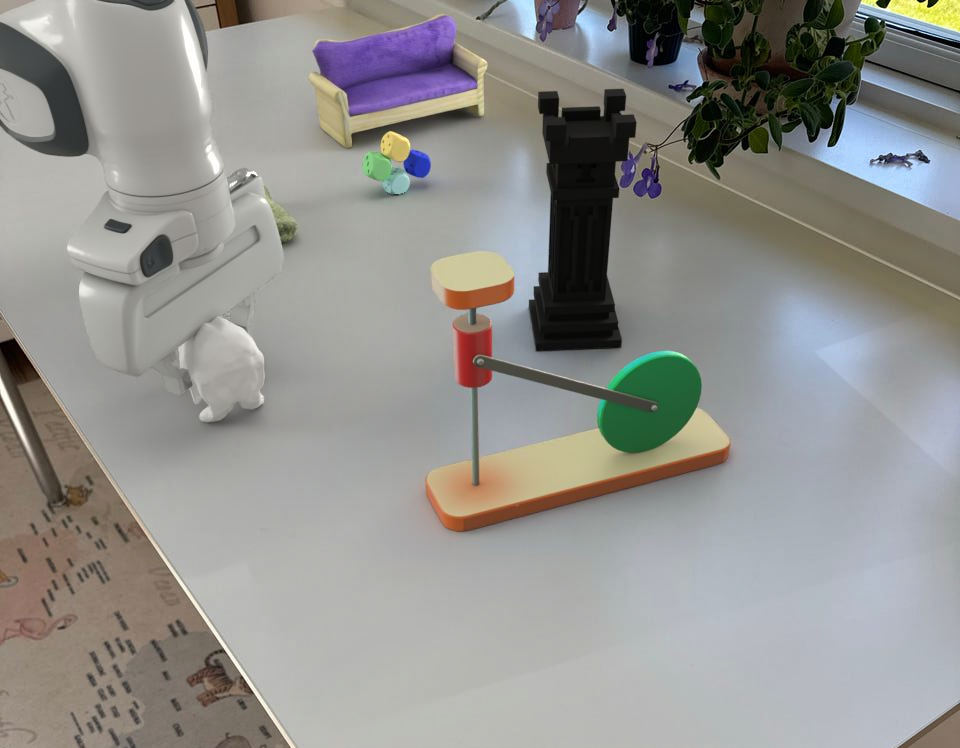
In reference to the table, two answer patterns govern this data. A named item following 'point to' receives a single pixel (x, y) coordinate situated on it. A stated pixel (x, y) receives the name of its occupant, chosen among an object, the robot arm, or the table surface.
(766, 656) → the table surface
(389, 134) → the dice
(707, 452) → the crank mechanism
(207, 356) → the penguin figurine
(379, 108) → the toy sofa
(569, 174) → the chess piece
